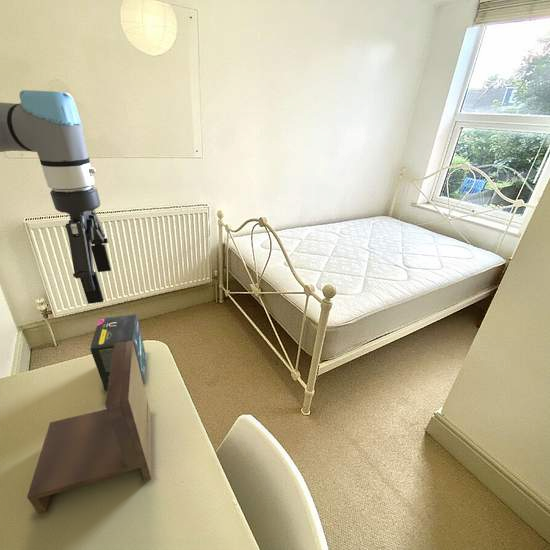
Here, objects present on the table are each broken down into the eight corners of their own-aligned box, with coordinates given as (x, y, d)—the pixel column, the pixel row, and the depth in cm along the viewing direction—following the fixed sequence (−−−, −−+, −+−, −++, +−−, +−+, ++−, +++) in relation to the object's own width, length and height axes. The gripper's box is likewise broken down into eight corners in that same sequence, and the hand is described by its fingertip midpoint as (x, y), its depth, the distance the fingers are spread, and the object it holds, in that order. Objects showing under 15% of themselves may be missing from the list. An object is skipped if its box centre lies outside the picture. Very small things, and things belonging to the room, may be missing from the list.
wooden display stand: (39, 515, 52) (-18, 433, 41) (59, 440, 64) (19, 360, 53) (151, 480, 58) (128, 399, 47) (151, 417, 69) (132, 340, 58)
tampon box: (110, 361, 83) (97, 318, 76) (146, 355, 86) (137, 312, 79) (103, 393, 74) (88, 347, 67) (144, 385, 77) (133, 340, 70)
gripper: (83, 205, 48) (113, 315, 58) (104, 173, 68) (123, 258, 79) (26, 208, 46) (68, 322, 56) (65, 174, 66) (90, 262, 76)
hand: (100, 285), depth 67 cm, fingers open, 13 cm apart
